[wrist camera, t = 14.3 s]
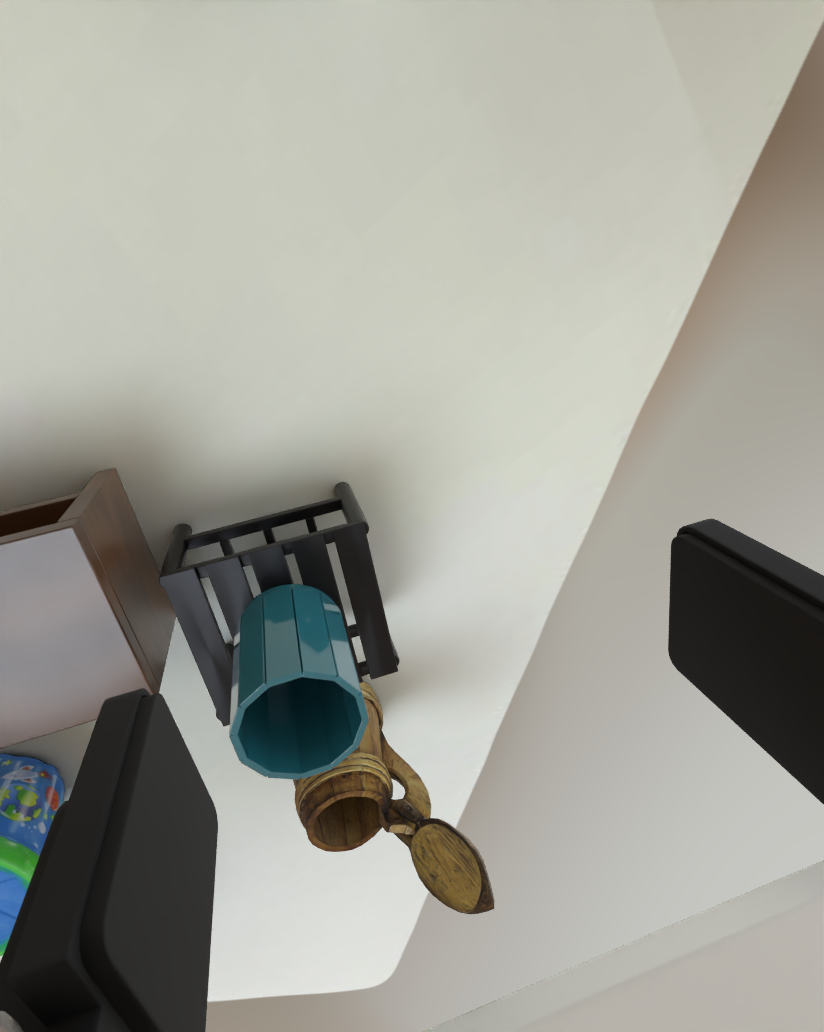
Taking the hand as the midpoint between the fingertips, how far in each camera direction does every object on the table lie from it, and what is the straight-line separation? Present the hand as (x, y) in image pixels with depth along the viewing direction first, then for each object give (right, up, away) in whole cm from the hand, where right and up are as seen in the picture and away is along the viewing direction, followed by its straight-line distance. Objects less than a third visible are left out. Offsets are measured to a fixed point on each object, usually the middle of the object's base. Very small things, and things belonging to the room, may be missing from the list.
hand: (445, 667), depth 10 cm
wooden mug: (-6, -15, +41) cm, 44 cm away
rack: (-10, -2, +34) cm, 35 cm away
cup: (-8, -5, +27) cm, 29 cm away
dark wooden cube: (-26, -1, +29) cm, 39 cm away
